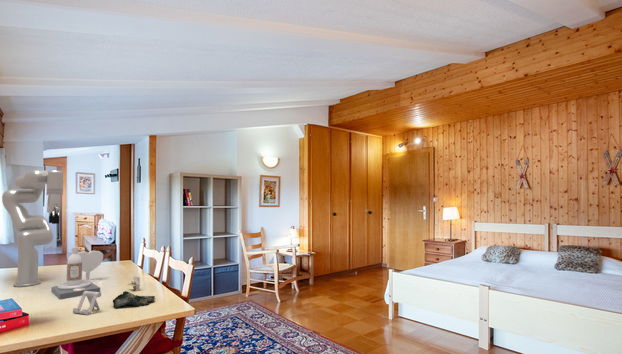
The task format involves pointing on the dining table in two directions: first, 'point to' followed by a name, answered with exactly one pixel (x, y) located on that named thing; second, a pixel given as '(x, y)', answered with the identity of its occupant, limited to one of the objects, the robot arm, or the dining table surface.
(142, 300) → the decorative rock
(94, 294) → the portable electronic device stand
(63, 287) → the dial scale
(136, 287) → the architectural model
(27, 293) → the dining table surface
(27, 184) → the robot arm
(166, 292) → the dining table surface
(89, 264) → the heart sculpture
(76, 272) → the bath foam
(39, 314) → the dining table surface
